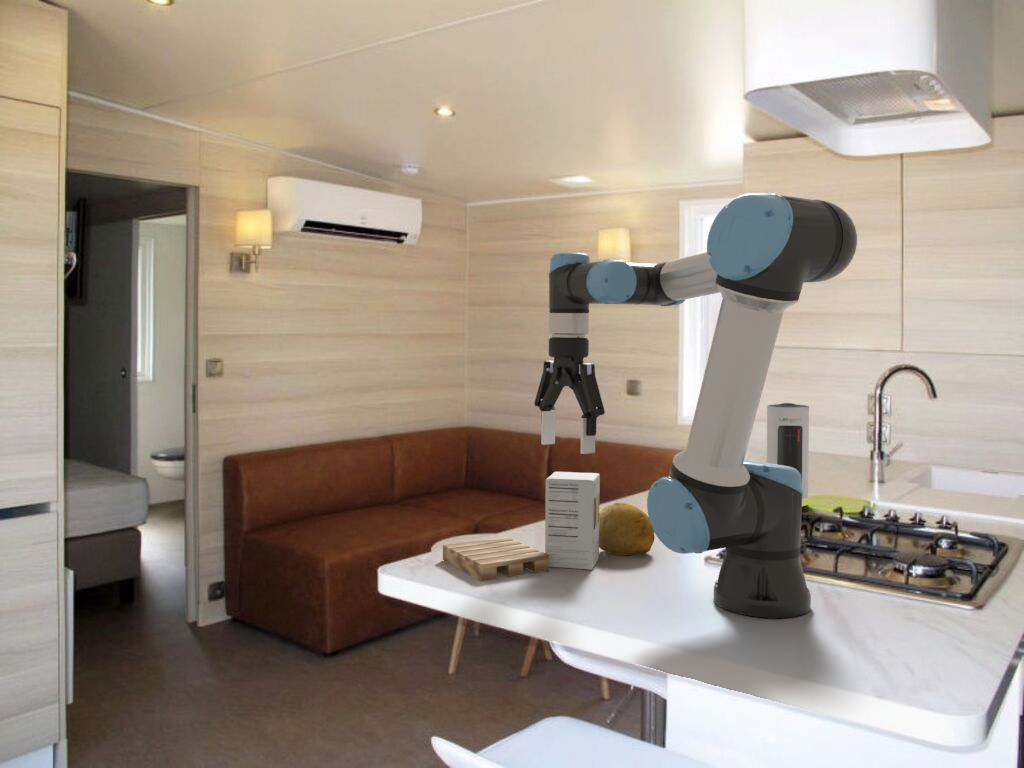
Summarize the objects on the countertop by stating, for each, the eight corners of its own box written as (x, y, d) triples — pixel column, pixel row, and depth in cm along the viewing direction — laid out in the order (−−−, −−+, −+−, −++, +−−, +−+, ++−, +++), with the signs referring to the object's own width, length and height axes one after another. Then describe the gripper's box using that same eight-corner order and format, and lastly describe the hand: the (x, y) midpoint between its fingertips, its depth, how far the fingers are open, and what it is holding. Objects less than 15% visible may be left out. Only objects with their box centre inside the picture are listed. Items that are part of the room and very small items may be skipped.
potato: (653, 561, 165) (654, 510, 164) (588, 557, 167) (589, 507, 167) (655, 548, 175) (655, 499, 174) (594, 545, 177) (594, 497, 177)
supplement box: (593, 570, 158) (594, 480, 157) (544, 567, 160) (544, 478, 159) (599, 557, 167) (600, 472, 166) (553, 554, 169) (553, 470, 168)
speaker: (762, 506, 218) (764, 404, 217) (767, 499, 228) (769, 401, 226) (806, 509, 214) (809, 405, 212) (809, 502, 224) (811, 402, 222)
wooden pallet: (548, 570, 158) (548, 554, 158) (481, 581, 151) (481, 564, 151) (506, 551, 172) (506, 536, 171) (442, 560, 165) (442, 545, 164)
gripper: (625, 337, 152) (623, 456, 153) (550, 335, 173) (548, 439, 175) (590, 337, 148) (588, 458, 150) (518, 335, 170) (517, 441, 171)
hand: (567, 448), depth 162 cm, fingers open, 13 cm apart
